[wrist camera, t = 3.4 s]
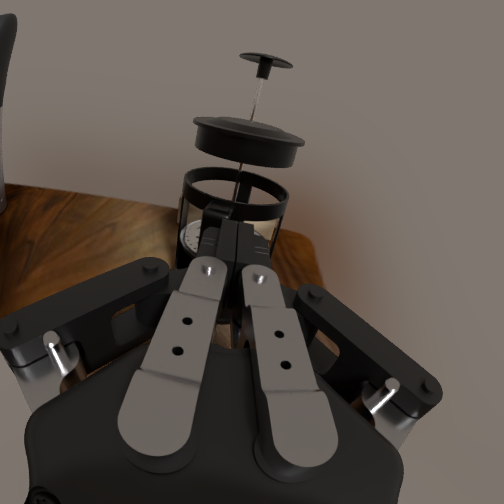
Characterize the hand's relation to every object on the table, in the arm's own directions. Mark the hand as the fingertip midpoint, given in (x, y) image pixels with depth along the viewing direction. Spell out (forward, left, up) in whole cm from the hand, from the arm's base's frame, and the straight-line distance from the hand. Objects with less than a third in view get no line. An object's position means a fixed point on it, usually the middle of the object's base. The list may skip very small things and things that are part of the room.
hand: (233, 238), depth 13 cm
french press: (0, +10, -13) cm, 16 cm away
